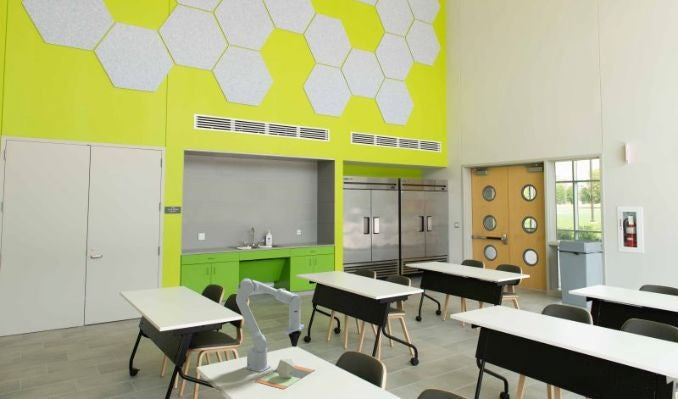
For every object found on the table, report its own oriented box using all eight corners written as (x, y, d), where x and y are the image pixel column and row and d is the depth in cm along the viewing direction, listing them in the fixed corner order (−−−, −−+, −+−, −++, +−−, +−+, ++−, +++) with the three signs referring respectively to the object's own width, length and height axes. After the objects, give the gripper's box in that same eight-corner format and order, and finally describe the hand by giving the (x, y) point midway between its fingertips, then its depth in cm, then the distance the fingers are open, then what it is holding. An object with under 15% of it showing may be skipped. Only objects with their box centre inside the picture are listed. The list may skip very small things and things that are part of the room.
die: (289, 383, 184) (300, 363, 188) (273, 374, 184) (284, 353, 188) (287, 383, 191) (297, 363, 196) (271, 374, 191) (282, 354, 196)
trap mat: (254, 381, 185) (254, 381, 185) (287, 364, 206) (287, 363, 206) (283, 389, 177) (283, 388, 177) (314, 370, 199) (314, 370, 199)
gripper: (292, 323, 198) (292, 351, 197) (309, 316, 210) (308, 343, 210) (281, 321, 201) (280, 349, 201) (297, 314, 214) (297, 341, 213)
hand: (294, 346), depth 206 cm, fingers closed
